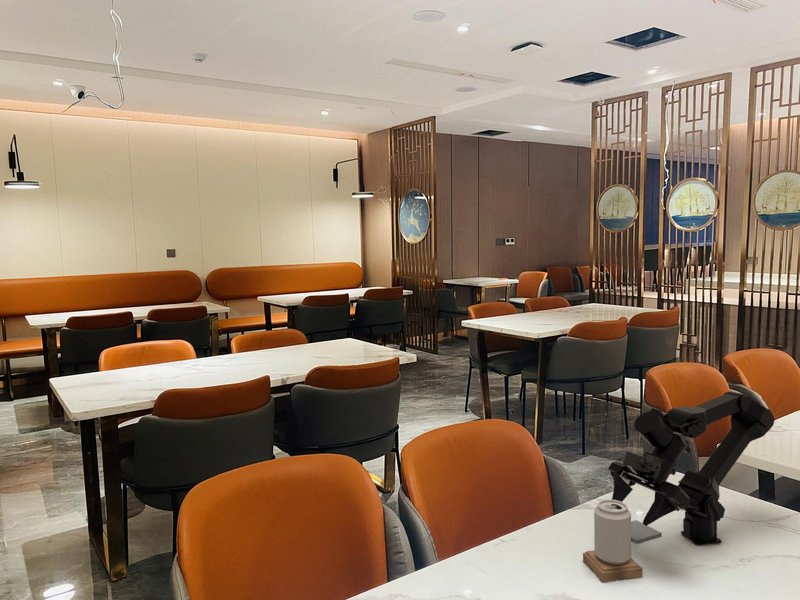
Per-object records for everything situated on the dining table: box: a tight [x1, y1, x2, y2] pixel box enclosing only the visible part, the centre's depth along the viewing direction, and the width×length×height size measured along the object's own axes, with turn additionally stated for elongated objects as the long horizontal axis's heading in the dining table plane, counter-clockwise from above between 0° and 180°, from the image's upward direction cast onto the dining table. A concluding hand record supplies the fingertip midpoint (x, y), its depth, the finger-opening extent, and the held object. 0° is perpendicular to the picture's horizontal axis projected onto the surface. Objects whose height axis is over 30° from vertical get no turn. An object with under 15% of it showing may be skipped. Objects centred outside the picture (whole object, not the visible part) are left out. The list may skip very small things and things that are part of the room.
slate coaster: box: [631, 519, 663, 544], centre depth 150 cm, size 8×8×1 cm
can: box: [593, 498, 632, 565], centre depth 133 cm, size 8×8×12 cm
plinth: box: [582, 549, 643, 583], centre depth 134 cm, size 9×9×2 cm
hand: (627, 516), depth 135 cm, fingers open, 9 cm apart
